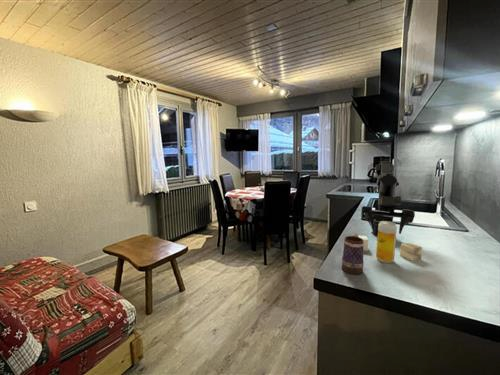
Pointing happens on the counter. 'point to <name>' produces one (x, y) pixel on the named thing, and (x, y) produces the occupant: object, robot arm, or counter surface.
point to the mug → (353, 255)
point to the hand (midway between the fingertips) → (386, 231)
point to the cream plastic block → (364, 242)
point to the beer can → (386, 241)
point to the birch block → (410, 251)
